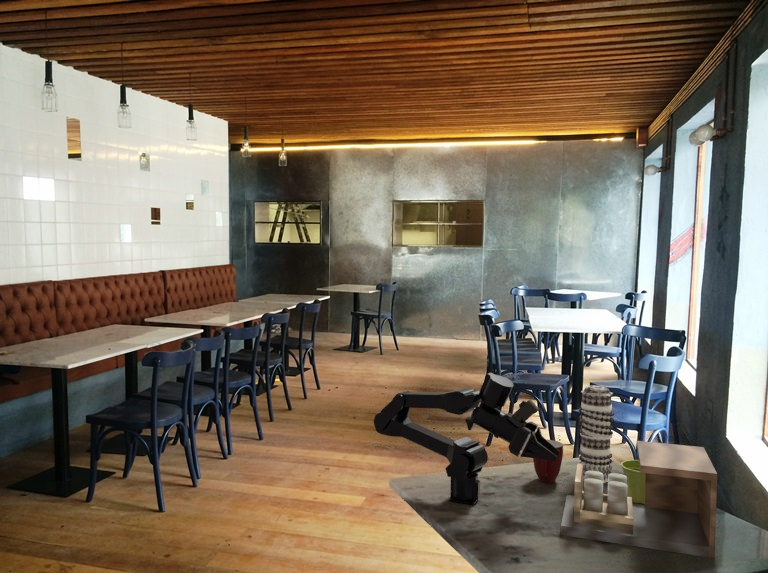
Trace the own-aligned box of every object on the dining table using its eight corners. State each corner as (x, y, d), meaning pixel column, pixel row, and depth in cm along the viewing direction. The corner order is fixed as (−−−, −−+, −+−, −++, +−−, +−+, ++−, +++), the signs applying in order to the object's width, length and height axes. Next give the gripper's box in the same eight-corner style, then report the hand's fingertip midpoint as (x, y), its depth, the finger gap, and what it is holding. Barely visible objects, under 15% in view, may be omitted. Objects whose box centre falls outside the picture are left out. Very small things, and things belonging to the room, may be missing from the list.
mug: (562, 490, 159) (563, 452, 159) (530, 486, 162) (530, 449, 161) (562, 476, 170) (563, 440, 169) (532, 473, 172) (532, 438, 171)
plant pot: (641, 510, 147) (642, 474, 147) (611, 496, 155) (612, 462, 155) (670, 504, 151) (670, 469, 150) (639, 491, 159) (640, 457, 159)
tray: (573, 521, 135) (574, 481, 135) (577, 500, 147) (577, 463, 147) (633, 530, 131) (634, 488, 131) (631, 507, 143) (632, 469, 143)
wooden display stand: (560, 534, 133) (562, 456, 132) (566, 503, 151) (568, 434, 150) (714, 558, 123) (717, 473, 122) (701, 521, 141) (703, 447, 140)
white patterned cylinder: (572, 479, 168) (574, 387, 167) (583, 470, 175) (584, 382, 175) (607, 486, 163) (609, 391, 162) (616, 476, 170) (618, 386, 169)
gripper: (505, 393, 139) (571, 428, 133) (517, 390, 156) (575, 421, 150) (483, 438, 139) (548, 474, 133) (497, 430, 156) (554, 462, 151)
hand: (557, 456), depth 142 cm, fingers open, 9 cm apart
